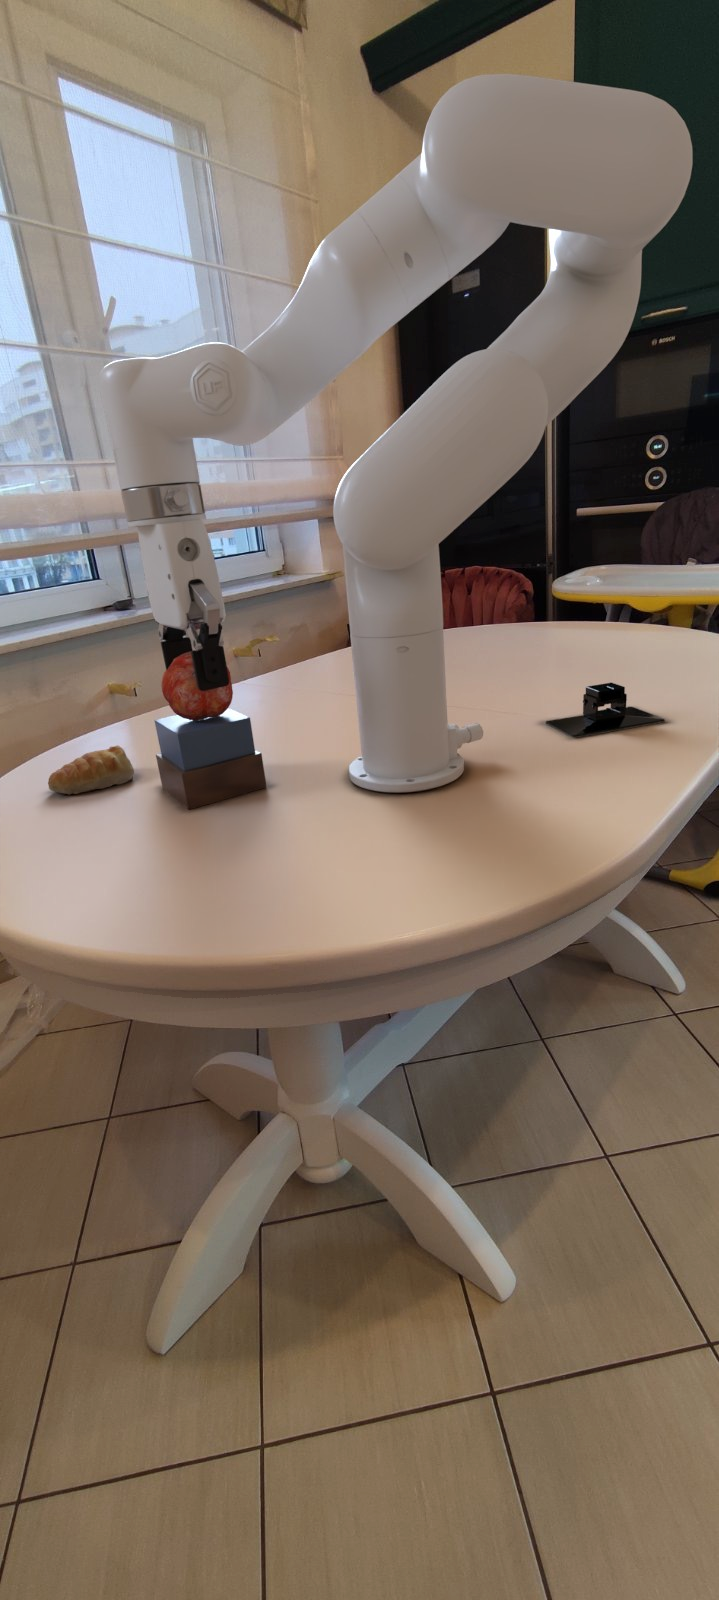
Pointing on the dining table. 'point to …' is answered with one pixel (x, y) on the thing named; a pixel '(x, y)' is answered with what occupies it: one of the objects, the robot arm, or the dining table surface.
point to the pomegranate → (193, 692)
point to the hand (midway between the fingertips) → (197, 681)
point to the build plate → (604, 713)
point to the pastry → (92, 772)
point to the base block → (212, 779)
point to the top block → (205, 739)
